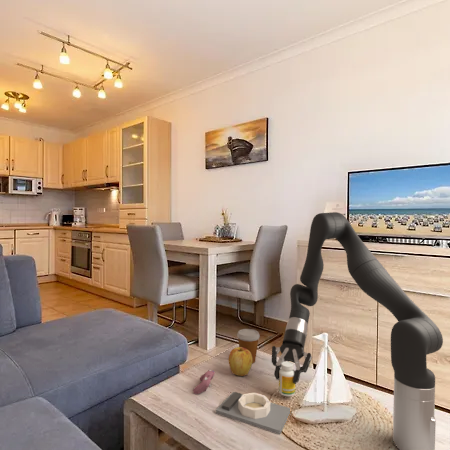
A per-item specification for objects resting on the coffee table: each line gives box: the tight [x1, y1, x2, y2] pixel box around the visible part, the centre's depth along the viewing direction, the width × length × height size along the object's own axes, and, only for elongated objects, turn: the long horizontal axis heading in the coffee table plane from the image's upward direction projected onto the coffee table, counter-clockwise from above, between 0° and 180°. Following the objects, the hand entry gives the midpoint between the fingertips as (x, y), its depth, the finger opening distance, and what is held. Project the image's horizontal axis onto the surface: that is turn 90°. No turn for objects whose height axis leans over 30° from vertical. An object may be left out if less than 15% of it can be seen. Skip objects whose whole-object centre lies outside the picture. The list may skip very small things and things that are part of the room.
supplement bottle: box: [278, 361, 296, 397], centre depth 107 cm, size 5×5×10 cm
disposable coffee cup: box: [236, 328, 261, 365], centre depth 134 cm, size 10×10×12 cm
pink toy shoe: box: [192, 369, 216, 395], centre depth 111 cm, size 10×5×7 cm, turn 169°
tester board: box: [215, 391, 291, 435], centre depth 97 cm, size 20×12×4 cm, turn 63°
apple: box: [227, 346, 253, 377], centre depth 122 cm, size 9×9×10 cm
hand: (285, 380), depth 105 cm, fingers closed on supplement bottle, 5 cm apart
